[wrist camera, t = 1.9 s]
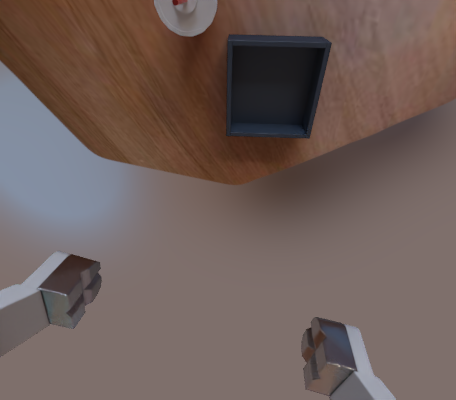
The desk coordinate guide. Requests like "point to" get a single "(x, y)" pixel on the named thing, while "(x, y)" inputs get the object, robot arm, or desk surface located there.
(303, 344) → the robot arm
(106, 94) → the desk surface
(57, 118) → the desk surface
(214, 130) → the desk surface
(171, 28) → the beverage cup
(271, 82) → the tote
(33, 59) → the desk surface
